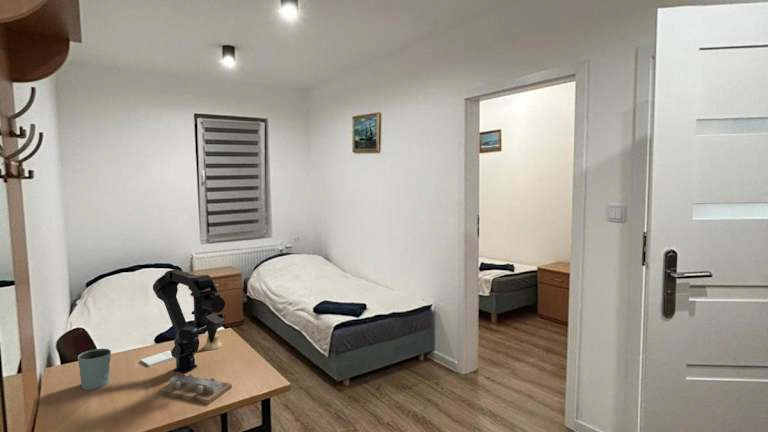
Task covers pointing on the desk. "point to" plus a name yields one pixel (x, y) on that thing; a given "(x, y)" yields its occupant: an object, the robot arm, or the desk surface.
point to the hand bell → (214, 345)
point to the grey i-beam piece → (196, 383)
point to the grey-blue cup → (94, 368)
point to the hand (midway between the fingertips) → (203, 347)
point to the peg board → (194, 392)
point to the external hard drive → (157, 359)
